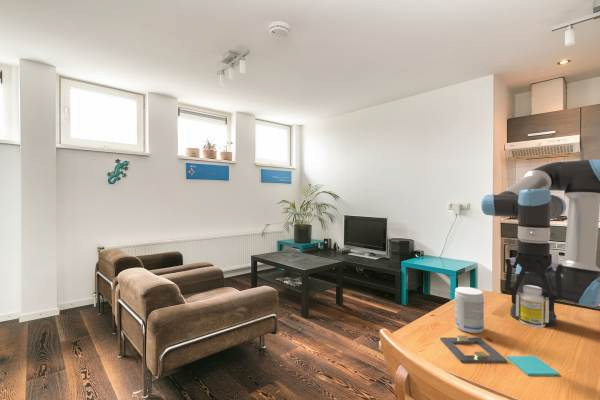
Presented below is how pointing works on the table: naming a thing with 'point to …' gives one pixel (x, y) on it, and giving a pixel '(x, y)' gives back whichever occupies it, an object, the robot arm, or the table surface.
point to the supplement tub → (469, 309)
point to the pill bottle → (532, 307)
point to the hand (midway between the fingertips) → (531, 317)
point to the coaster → (532, 366)
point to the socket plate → (478, 356)
